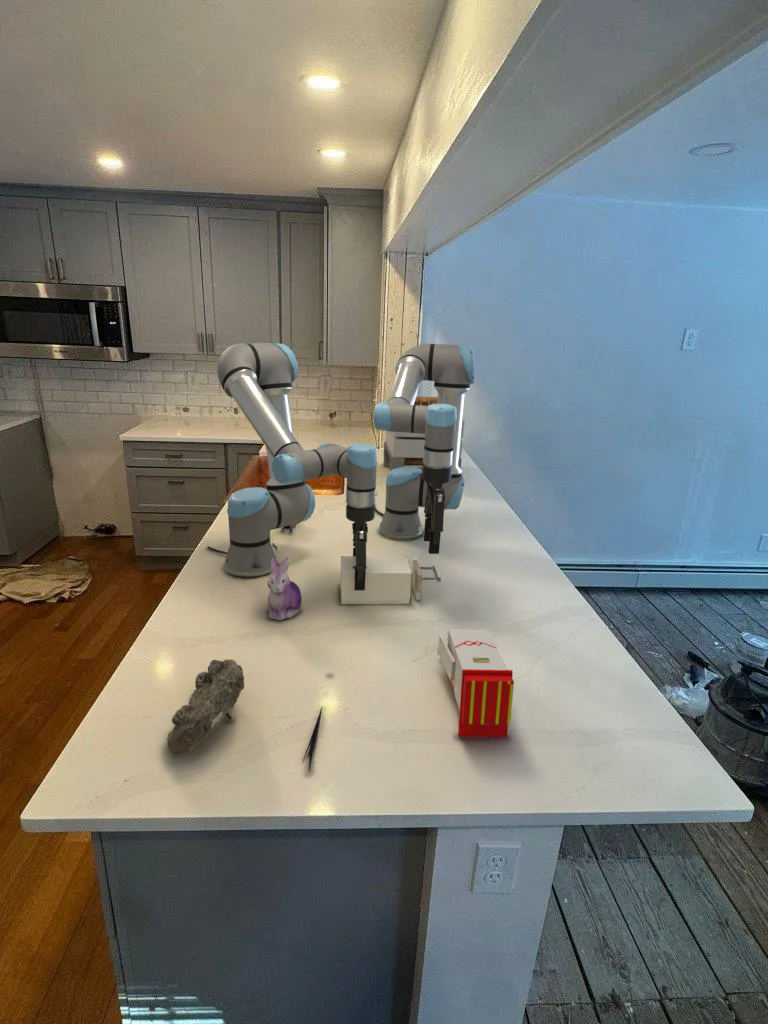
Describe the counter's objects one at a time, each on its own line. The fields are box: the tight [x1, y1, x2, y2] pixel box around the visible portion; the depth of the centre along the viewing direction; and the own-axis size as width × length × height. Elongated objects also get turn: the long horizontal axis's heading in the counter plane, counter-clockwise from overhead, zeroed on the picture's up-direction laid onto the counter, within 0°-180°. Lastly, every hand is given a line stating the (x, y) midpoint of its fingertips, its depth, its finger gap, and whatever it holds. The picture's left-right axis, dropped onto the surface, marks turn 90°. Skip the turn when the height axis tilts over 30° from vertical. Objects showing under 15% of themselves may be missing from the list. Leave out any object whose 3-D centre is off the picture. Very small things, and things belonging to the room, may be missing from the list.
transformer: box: [383, 395, 465, 472], centre depth 268 cm, size 34×33×41 cm
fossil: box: [166, 658, 245, 754], centre depth 106 cm, size 22×10×15 cm
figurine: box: [267, 556, 302, 621], centre depth 143 cm, size 9×10×15 cm
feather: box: [301, 673, 332, 771], centre depth 108 cm, size 2×28×2 cm
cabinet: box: [340, 555, 412, 605], centre depth 155 cm, size 18×11×9 cm, turn 95°
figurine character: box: [280, 524, 297, 533], centre depth 200 cm, size 7×8×15 cm
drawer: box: [408, 559, 442, 601], centre depth 156 cm, size 23×10×7 cm, turn 95°
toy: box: [437, 628, 515, 738], centre depth 117 cm, size 12×13×30 cm
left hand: (358, 579), depth 155 cm, fingers open, 12 cm apart
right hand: (431, 546), depth 154 cm, fingers open, 8 cm apart
